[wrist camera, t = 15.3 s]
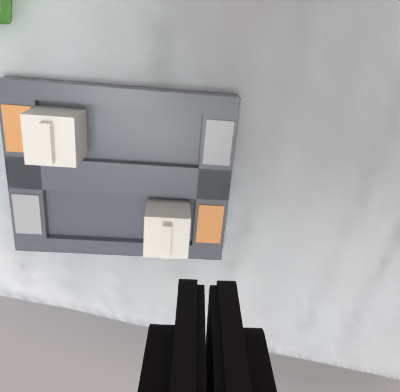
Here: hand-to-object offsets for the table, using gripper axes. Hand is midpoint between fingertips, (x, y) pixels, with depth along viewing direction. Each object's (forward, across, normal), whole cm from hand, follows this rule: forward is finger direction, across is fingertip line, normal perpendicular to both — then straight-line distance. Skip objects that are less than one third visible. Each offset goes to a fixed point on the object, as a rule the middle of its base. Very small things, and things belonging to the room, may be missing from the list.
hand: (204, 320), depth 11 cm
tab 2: (+24, +3, +9) cm, 26 cm away
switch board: (+25, +7, +4) cm, 27 cm away
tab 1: (+24, +12, 0) cm, 27 cm away
